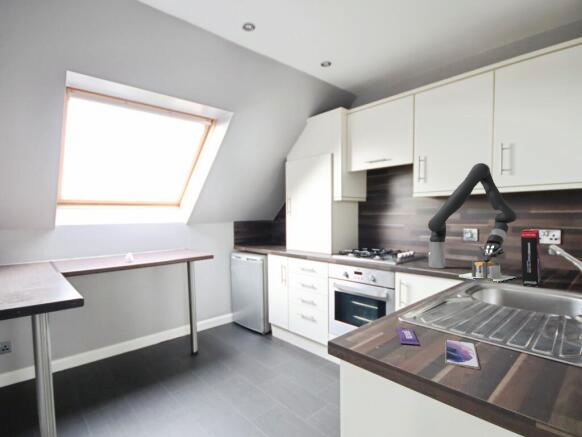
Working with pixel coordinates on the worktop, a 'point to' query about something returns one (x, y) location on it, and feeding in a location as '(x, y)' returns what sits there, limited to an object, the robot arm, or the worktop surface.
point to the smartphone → (461, 354)
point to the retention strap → (487, 263)
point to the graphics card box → (530, 257)
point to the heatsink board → (486, 272)
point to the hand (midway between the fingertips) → (485, 261)
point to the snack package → (407, 336)
